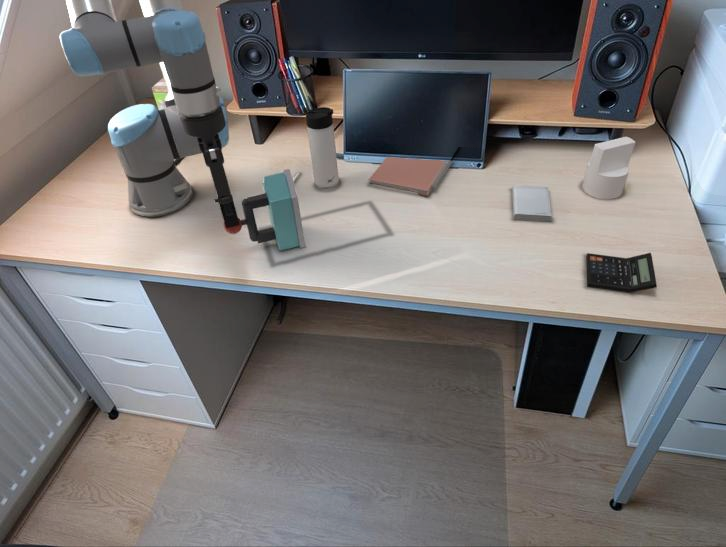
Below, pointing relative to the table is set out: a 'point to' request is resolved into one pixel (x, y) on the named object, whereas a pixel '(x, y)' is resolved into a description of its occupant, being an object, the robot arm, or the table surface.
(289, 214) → the iron
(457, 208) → the table surface
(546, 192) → the hard drive
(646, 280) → the calculator
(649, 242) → the table surface
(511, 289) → the table surface
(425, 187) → the notebook
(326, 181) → the travel mug
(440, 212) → the table surface
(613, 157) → the cylinder with rectangular tab
